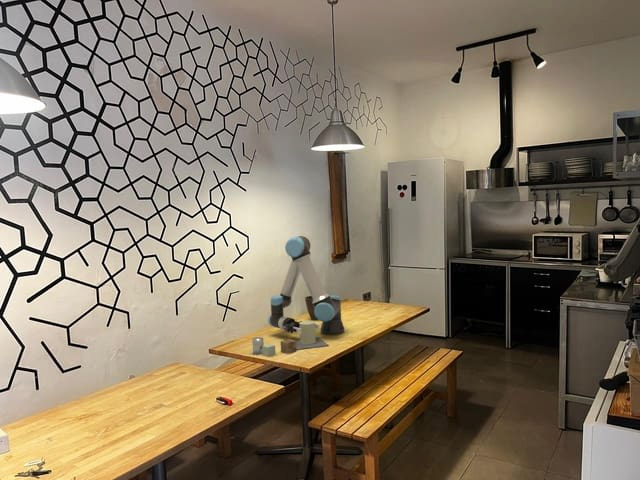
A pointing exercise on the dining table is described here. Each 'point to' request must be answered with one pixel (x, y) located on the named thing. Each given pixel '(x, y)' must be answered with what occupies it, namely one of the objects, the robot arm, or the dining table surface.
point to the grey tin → (257, 345)
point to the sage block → (268, 350)
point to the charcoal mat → (317, 344)
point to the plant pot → (310, 307)
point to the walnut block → (288, 346)
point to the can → (307, 332)
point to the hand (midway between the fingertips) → (310, 328)
